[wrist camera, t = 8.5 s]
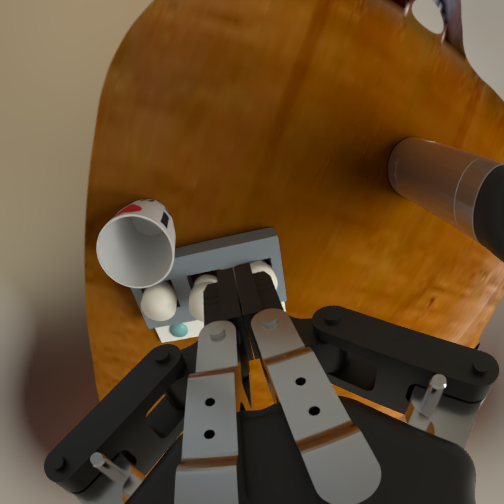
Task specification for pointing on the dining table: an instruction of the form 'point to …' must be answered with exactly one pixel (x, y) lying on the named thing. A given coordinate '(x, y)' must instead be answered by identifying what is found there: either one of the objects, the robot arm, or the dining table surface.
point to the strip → (183, 330)
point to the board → (216, 266)
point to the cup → (138, 244)
